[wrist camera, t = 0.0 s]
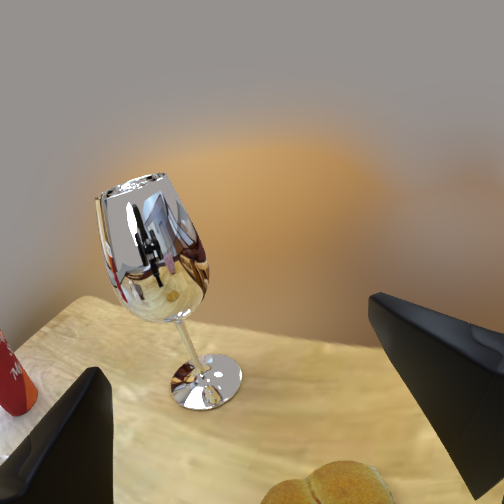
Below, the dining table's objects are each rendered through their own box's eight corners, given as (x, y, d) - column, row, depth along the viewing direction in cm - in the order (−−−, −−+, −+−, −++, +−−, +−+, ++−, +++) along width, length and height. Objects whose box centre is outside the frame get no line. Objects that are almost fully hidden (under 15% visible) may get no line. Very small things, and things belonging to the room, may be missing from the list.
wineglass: (175, 359, 33) (105, 186, 24) (243, 349, 32) (189, 161, 24) (164, 414, 26) (60, 216, 17) (245, 407, 25) (169, 183, 17)
